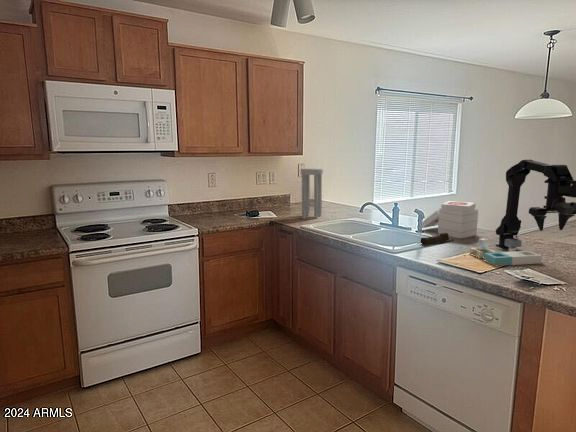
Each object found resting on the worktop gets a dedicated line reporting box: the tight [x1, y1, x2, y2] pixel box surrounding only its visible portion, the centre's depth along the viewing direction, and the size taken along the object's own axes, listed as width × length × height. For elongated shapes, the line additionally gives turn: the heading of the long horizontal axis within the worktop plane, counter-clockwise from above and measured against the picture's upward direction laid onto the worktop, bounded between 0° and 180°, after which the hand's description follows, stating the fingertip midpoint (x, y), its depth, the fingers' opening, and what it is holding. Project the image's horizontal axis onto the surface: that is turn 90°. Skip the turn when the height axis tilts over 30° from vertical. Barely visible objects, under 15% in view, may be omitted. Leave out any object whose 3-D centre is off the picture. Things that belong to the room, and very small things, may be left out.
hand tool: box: [420, 233, 450, 246], centre depth 213 cm, size 19×4×5 cm, turn 115°
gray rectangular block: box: [504, 238, 522, 252], centre depth 190 cm, size 4×6×7 cm
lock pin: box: [477, 238, 489, 251], centre depth 188 cm, size 3×3×8 cm
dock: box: [483, 250, 543, 266], centre depth 178 cm, size 8×22×4 cm, turn 98°
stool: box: [300, 167, 324, 219], centre depth 290 cm, size 16×16×35 cm
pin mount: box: [469, 246, 497, 259], centre depth 188 cm, size 8×8×3 cm
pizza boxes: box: [421, 200, 479, 239], centre depth 235 cm, size 19×30×18 cm, turn 33°
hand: (551, 230), depth 174 cm, fingers open, 9 cm apart
